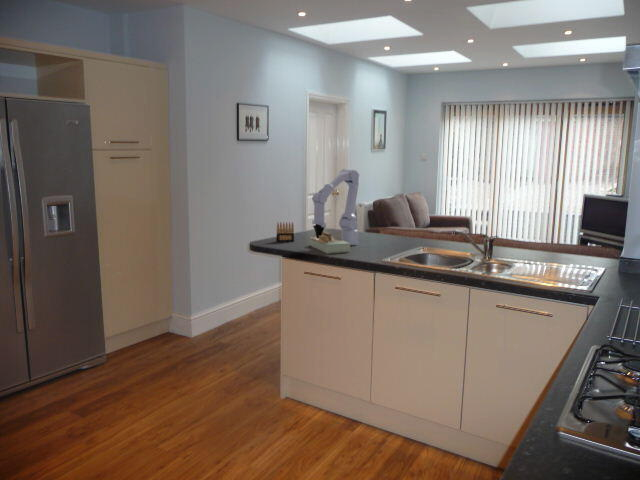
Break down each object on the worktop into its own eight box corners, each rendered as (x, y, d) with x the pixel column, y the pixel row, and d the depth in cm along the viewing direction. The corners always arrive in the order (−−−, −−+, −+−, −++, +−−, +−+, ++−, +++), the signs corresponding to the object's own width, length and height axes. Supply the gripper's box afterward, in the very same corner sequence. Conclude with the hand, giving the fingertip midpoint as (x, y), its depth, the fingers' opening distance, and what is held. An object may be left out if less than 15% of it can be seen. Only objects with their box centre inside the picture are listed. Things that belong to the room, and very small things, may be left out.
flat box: (331, 244, 308) (331, 236, 307) (349, 252, 287) (350, 243, 286) (309, 245, 303) (309, 237, 302) (326, 253, 281) (326, 244, 280)
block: (323, 240, 291) (323, 235, 291) (328, 242, 286) (328, 237, 285) (318, 240, 290) (318, 235, 290) (323, 242, 285) (323, 237, 284)
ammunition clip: (276, 242, 313) (276, 222, 310) (276, 241, 314) (276, 221, 312) (294, 241, 315) (294, 221, 313) (293, 241, 317) (293, 221, 314)
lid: (331, 237, 307) (332, 230, 307) (344, 242, 293) (344, 234, 292) (309, 239, 302) (310, 231, 301) (321, 244, 287) (321, 235, 286)
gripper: (307, 212, 296) (307, 236, 299) (317, 216, 283) (317, 240, 285) (319, 212, 299) (318, 235, 301) (329, 215, 286) (329, 240, 288)
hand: (318, 238), depth 294 cm, fingers closed
